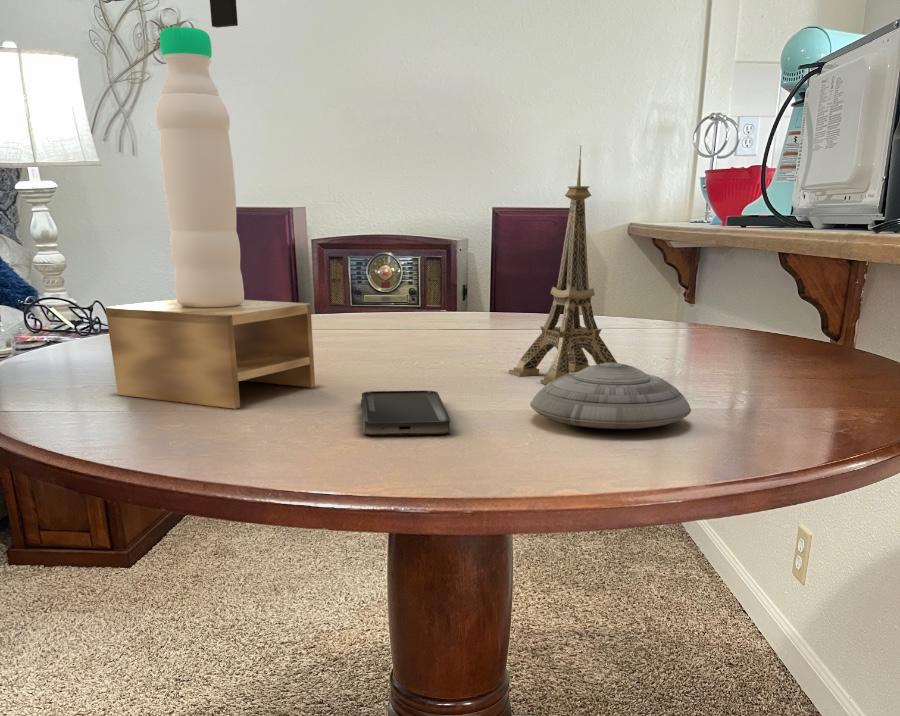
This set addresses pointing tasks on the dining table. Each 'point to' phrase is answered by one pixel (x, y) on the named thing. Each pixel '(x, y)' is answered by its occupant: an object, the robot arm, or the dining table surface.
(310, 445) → the dining table surface
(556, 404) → the flying saucer
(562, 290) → the eiffel tower
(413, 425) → the phone
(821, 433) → the dining table surface
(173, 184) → the water bottle
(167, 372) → the rack
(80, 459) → the dining table surface
